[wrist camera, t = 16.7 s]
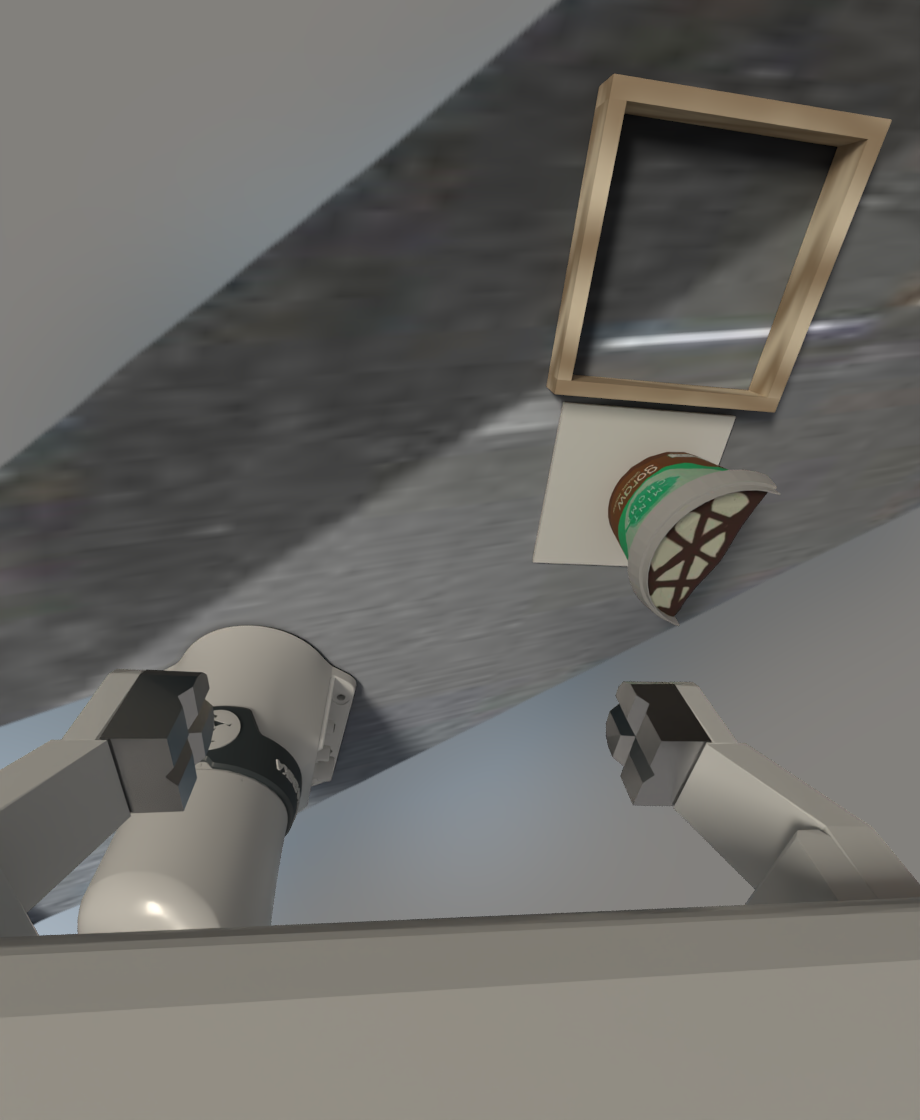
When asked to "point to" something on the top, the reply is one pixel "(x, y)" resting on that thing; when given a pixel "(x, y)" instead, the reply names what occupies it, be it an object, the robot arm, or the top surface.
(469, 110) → the top surface
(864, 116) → the frame
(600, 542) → the mat
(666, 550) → the food container
